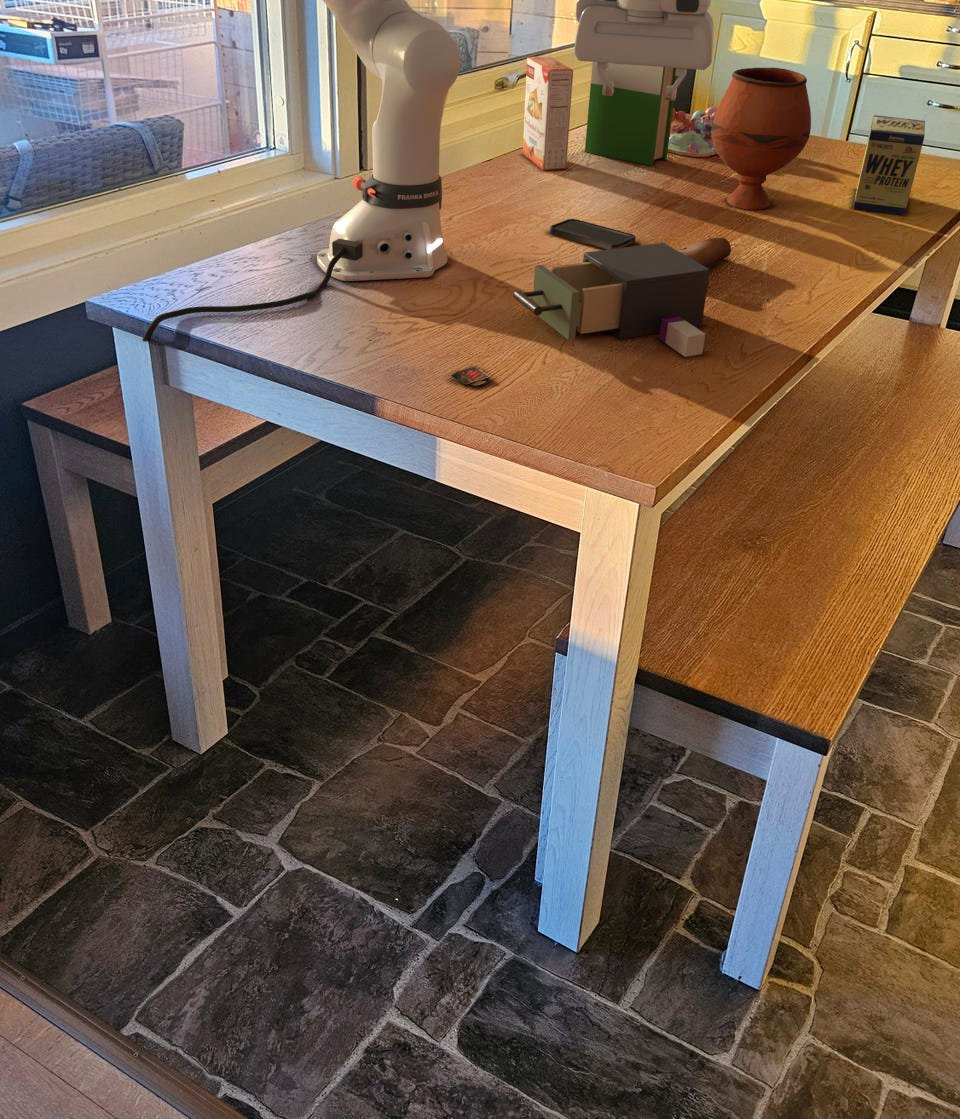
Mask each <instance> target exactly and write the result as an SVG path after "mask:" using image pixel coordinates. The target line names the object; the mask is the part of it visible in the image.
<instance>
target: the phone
mask: <svg viewBox="0 0 960 1119" xmlns="http://www.w3.org/2000/svg"><path fill="white" fill-rule="evenodd" d="M549 234H551V235H553V236H558V237H561V238H565V239H568V240H572V241H575V242H579V243H582V244H585V245H589V246H592V247H596V248H600V249H603V250H609V249H617V248H625V247H629V246H631V245H633V244H635V243H636V234H633V233H630V232H626V231H621V230H618V229H614V228H611V227H607V226H603V225H599V224H596V223H591V222H588V221H584V220H582V219H581V220H580V219H577V218H567V219H565V220H563V221H560V222H557V223H554V224H552V225H550V226H549Z"/></svg>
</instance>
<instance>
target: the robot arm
mask: <svg viewBox="0 0 960 1119" xmlns="http://www.w3.org/2000/svg"><path fill="white" fill-rule="evenodd" d="M322 1H323V3H324V4H325V5H326V7H327V9H329V11H330V12H331V14H332V15H333V17H334V19H335V20H336V21H337V23H338V25H339V27H340V29H341V31H342V32H343V34H344V35H345V37H346V39H347V41H348V42H349V43H350V45H351V47H352V48H353V50H354V51H355V53H356V54H357V56H358V57H359V59H360V61H361V62H362V63H363V65H364V67H365V68H366V69H367V70H368V72H369V73H371V74H372V75H373V76H374V77H376V78H378V79H380V80H381V84H382V91H381V98H380V104H379V109H378V113H377V117H376V119H375V120H374V122H373V124H372V127H371V141H372V142H371V145H372V146H371V147H372V174H371V176H369V178H368V179H367V180H366V179H365V178H364V177H362V176H360V175H357V176H355V177H354V179H352V186H353V187H354V188H355V189H357V191H359V192H361V194H362V199H361V200H360V201H358V202H357V203H356V204H355V205H354V206H353V207H352V208H350V210H348V211H347V212H346V213H345V214H344V215H342V216H341V217H340V218H339V219H337V220H336V221H335V222H334V224H333V226H332V228H331V231H330V237H329V245H328V246H329V247H328V248H324V249H321V250H319V251H318V252H317V255H316V263H317V265H318V267H319V268H320V269H321V270H322V271H323V273H325V275H324V277H323V278H322V280H321V282H320V283H319V285H318V286H317V287H316V288H314V290H312V291H309V292H305V293H301V294H299V295H295V296H292V297H289V298H284V299H281V300H275V301H268V302H259V303H252V304H243V305H222V306H220V305H205V306H202V305H201V306H190V307H185V308H181V309H177V310H173V311H168V312H164V313H161V314H159V315H157V316H156V317H154V319H153V320H152V321H151V323H150V324H149V326H148V328H147V329H146V331H145V333H144V335H143V337H142V341H143V342H147V341H150V340H151V338H152V336H153V334H154V332H155V330H156V329H157V327H158V326H159V325H160V324H161V323H162V322H164V321H166V320H169V319H173V318H177V317H182V316H185V315H186V316H187V315H191V314H199V313H241V312H250V311H260V310H267V309H273V308H279V307H284V306H289V305H294V304H297V303H299V302H302V301H305V300H309V299H311V298H313V297H315V296H316V295H317V294H318V293H319V292H320V291H321V290H322V289H324V288H326V286H327V284H328V283H329V281H330V280H331V278H334V279H336V280H339V281H344V282H358V281H359V282H360V281H377V280H395V279H397V280H398V279H399V280H400V279H415V278H417V279H418V278H429V277H432V276H433V275H434V273H435V271H436V270H438V269H440V268H442V267H443V266H445V265H446V264H447V263H448V260H449V259H448V255H447V252H446V247H445V244H444V238H443V232H442V223H441V222H442V221H441V210H442V202H443V184H442V182H443V181H442V180H443V179H442V177H441V175H440V153H441V152H440V151H441V146H440V145H441V128H442V121H443V117H444V116H443V115H444V112H445V107H446V102H447V99H448V95H449V90H450V89H451V88H452V87H453V85H454V84H455V82H456V80H457V78H458V77H459V73H460V69H461V53H460V50H459V47H458V44H457V43H456V41H455V39H454V38H453V37H452V36H451V34H450V33H449V32H448V31H447V30H446V28H444V27H443V25H441V23H439V22H437V21H435V20H433V19H430V18H428V17H425V16H423V15H421V14H419V13H418V12H417V11H415V9H413V8H412V7H411V6H410V5H409V3H408V2H407V1H406V0H322ZM711 3H712V0H577V1H576V7H575V18H576V22H578V26H577V30H576V35H575V41H574V49H573V53H574V56H575V57H576V59H577V61H579V62H589V63H590V62H591V63H593V62H597V72H598V74H599V76H600V79H601V81H602V83H603V90H602V95H611V96H612V95H613V92H614V89H613V87H614V81H609V79H608V76H607V74H606V71H605V70H606V69H607V68H608V63H616V64H629V65H643V66H656V67H670V68H676V74H675V75H676V76H677V80H676V82H675V83H674V85H673V86H667V87H666V95H665V100H672V101H674V102H675V100H676V98H677V91H678V88H679V86H680V84H681V83H682V81H683V80H684V79H685V77H686V76H687V70H699V71H704V70H706V69H707V68H709V67H710V66H711V64H712V63H713V57H714V49H715V48H714V47H715V46H714V45H715V28H714V26H715V25H714V20H713V17H712V15H711V14H710V12H709V9H710V7H711Z"/></svg>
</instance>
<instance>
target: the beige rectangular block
mask: <svg viewBox="0 0 960 1119" xmlns="http://www.w3.org/2000/svg"><path fill="white" fill-rule="evenodd" d="M658 340H660V341H661V342H662V343H664V344H666V345H667V346H669V347H670V348H672V349H673V350H674V351H676V352H678V353H679V354H680V355H681V356H683V357H684V358H687V357H694V356H698V355H699V356H700V355H703V350H704V346H705V345H704V344H705V340H706V333H705V332H703V331H702V330H700V329H699V328H698V327H694V326H693V325H691V324H690V323H688V322H687V321H685V320H684V319H683V318H681V317H673V318H667V319H662V322H661V329H660V333H659V336H658Z"/></svg>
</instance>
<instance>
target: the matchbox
mask: <svg viewBox="0 0 960 1119" xmlns="http://www.w3.org/2000/svg"><path fill="white" fill-rule="evenodd" d="M450 377H452V378H453V381H455V380H456V381H458V382H459V383H462V384H464V385H468V384H469V385H471V386H476V387H477V386H480V385H484V384H485V383H486V382H487V380H485V379H488V378H490V377H491V375H489V374H487V373H486V372H484V371H483V369H480V368H478V367H475V366H470V367H467V368H465V369H462V370H457V371H455V372H454V373H452V374H451V375H450ZM454 379H455V380H454ZM456 381H455V382H456Z"/></svg>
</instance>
